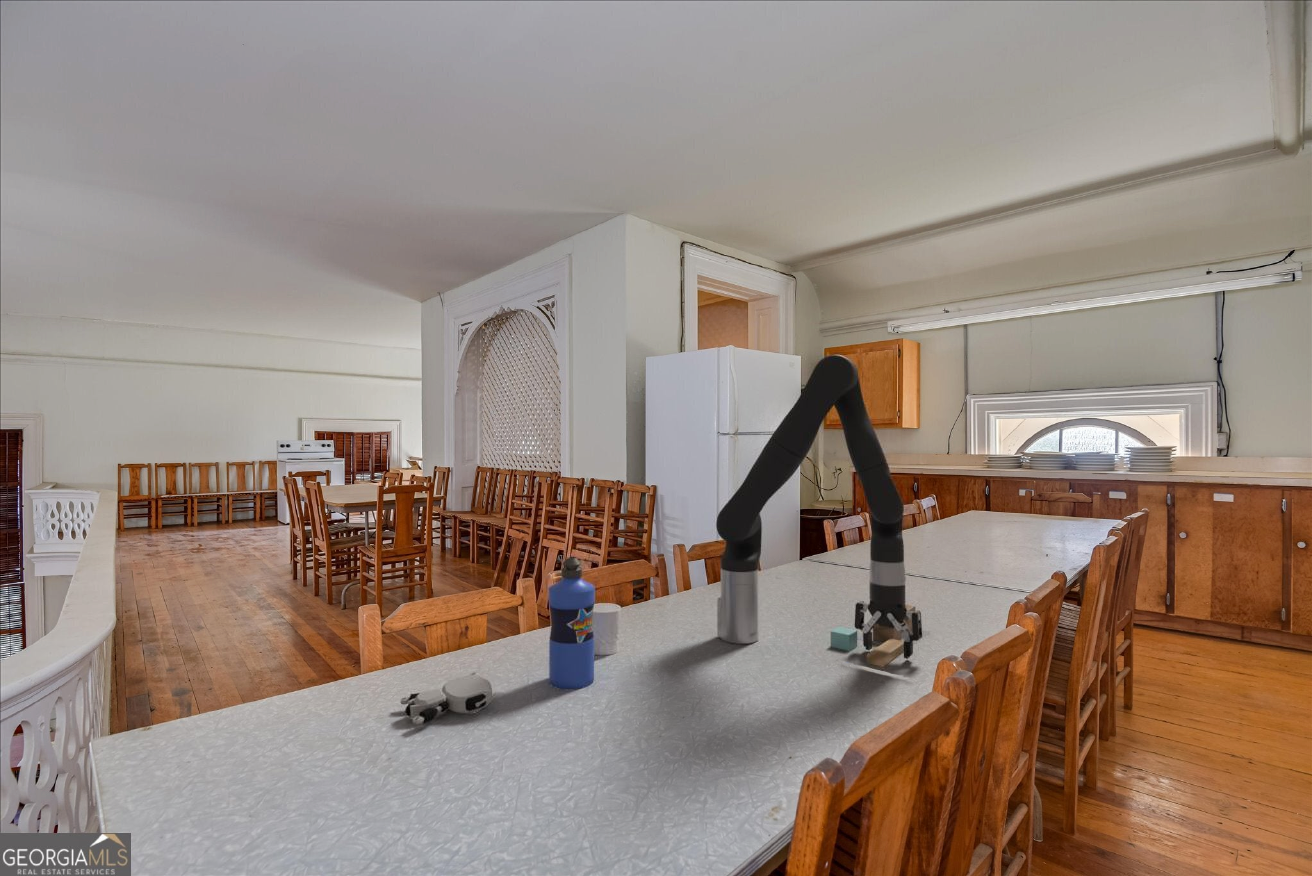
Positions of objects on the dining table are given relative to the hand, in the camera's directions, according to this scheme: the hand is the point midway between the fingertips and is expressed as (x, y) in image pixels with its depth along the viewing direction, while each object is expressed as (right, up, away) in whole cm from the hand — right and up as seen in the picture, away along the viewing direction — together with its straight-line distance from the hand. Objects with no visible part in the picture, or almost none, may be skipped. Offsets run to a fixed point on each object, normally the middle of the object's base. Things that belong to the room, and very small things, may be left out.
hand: (887, 653), depth 139 cm
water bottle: (-69, -2, -12) cm, 70 cm away
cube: (-8, -2, +7) cm, 10 cm away
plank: (0, -2, 0) cm, 2 cm away
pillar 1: (+4, -1, +11) cm, 12 cm away
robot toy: (-89, -2, -26) cm, 93 cm away
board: (+7, -1, +15) cm, 17 cm away
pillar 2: (+10, -1, +19) cm, 21 cm away
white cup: (-64, -2, +6) cm, 64 cm away
